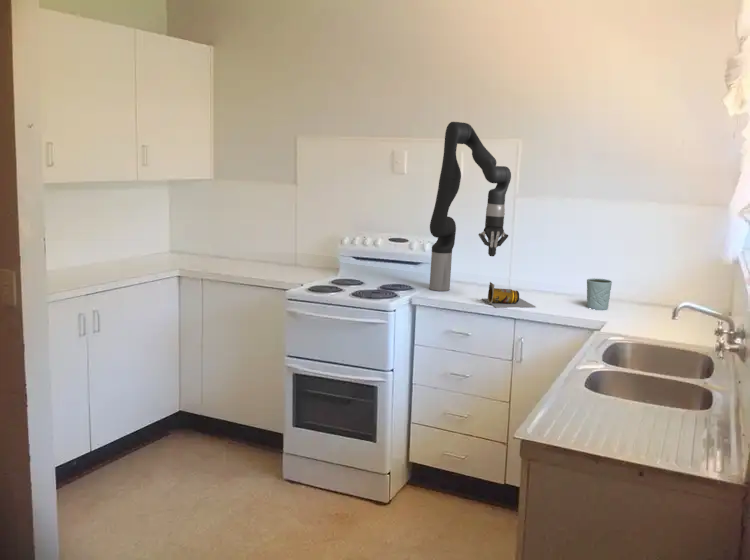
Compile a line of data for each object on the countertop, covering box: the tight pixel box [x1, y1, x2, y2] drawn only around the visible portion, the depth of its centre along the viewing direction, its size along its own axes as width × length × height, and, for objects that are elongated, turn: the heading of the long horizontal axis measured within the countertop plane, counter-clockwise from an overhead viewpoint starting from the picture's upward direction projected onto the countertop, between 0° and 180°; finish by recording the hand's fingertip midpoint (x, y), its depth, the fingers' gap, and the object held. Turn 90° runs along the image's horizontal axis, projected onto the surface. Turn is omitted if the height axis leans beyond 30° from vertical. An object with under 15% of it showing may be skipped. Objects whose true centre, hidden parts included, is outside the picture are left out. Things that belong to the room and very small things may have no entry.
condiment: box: [487, 281, 520, 304], centre depth 320 cm, size 7×8×12 cm
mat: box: [481, 297, 537, 309], centre depth 323 cm, size 16×18×1 cm
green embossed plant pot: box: [586, 277, 613, 311], centre depth 320 cm, size 10×10×12 cm
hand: (491, 256), depth 317 cm, fingers closed
